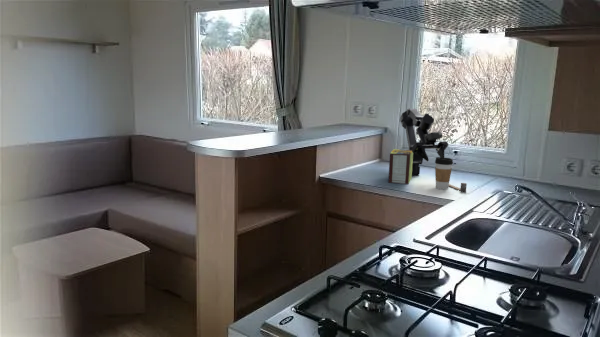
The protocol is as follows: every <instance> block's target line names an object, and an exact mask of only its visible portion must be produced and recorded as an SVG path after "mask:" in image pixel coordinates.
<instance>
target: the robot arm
mask: <svg viewBox="0 0 600 337" xmlns="http://www.w3.org/2000/svg"><path fill="white" fill-rule="evenodd" d="M399 122H400V124H401V126H402V128H404V129H405V134H406V139H407V145H408V150H412V152H413V164H412V176H417V177H418V176H420V169H421V166H420V165H422V164H423V161H424V160H425V162H429V156H428V154H427V153H426V150H433V149H434V150H435V151H436V153H437V155H438V157H441V158H445V150H446V149H447V148H448V147H449V143H448V141H445V140H444V141H439V142H438V140H440V139H441V138H443V133H442V132H441V131H433V132H430V130H431V128H432V126H433V124H434V122H435V118H434V117H433V116H432V115H430V114H429V113H424V115H423V114H421V113H420V112H419V111H418V110H417V109H416V108H409V107H408V108H407V109H406V111H404V112H402V113H401V115H400V116H399ZM415 128H416V129H415ZM415 130H416V132H415ZM416 135H417V136H418V137H419V141H417V138H416ZM437 142H438V143H437ZM436 143H437V144H436Z"/></svg>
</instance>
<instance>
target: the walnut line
mask: <svg viewBox="0 0 600 337" xmlns="http://www.w3.org/2000/svg"><path fill="white" fill-rule="evenodd" d="M467 185H468V183H466V182H460V187H457V186H456V185H453V184H450V183H449V186H448V188H451V189H453V188H454V189H453V190H455V191H458V190H459V191H458V192H460V191H461V192H460V193H466V192H467Z"/></svg>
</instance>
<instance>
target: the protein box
mask: <svg viewBox="0 0 600 337" xmlns="http://www.w3.org/2000/svg"><path fill="white" fill-rule="evenodd" d="M388 162H389V163H388V164H389V165H388V166H389V167H388V183H391V184H401V185H409V184H410V183H411V180H412V176H413V175H412V164H413V152H412V150H409V149H398V148H393V149H392V150H391V152H390V153H389V161H388Z"/></svg>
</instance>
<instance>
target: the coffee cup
mask: <svg viewBox="0 0 600 337" xmlns="http://www.w3.org/2000/svg"><path fill="white" fill-rule="evenodd" d="M453 161H454V160H453V158H449V157H444V158H441V157H440V156H436V157H435V160H434V164H435V168H434V170H435V171H434V172H435V173H434V174H435V176H434V177H435V189H437V190H448V189H449V187H448V186H449V184H450V182H451V181H450V180H451V176H452V170H453V169H452V166H453V164H454V162H453Z"/></svg>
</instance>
